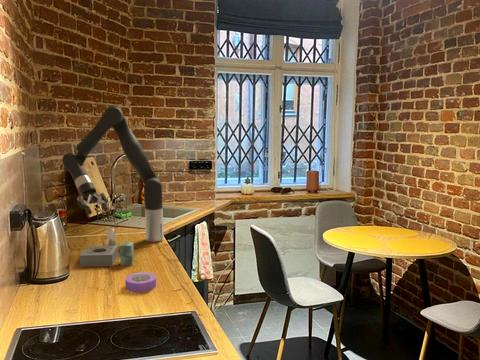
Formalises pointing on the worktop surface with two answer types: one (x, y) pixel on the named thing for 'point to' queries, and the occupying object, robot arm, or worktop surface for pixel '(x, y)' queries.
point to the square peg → (126, 253)
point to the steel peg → (111, 237)
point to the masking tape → (140, 282)
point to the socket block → (99, 256)
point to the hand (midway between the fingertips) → (98, 212)
